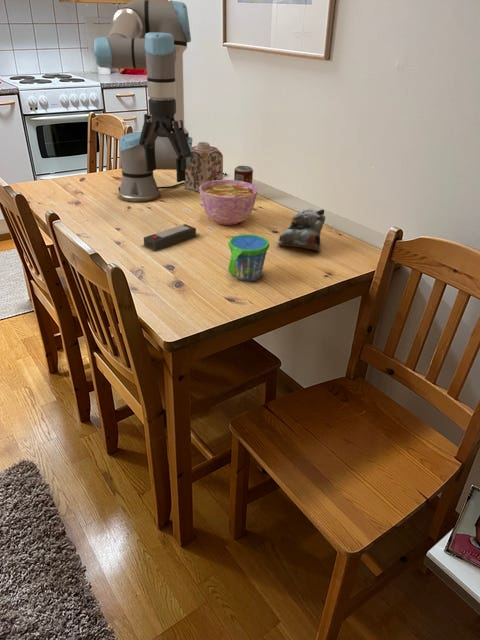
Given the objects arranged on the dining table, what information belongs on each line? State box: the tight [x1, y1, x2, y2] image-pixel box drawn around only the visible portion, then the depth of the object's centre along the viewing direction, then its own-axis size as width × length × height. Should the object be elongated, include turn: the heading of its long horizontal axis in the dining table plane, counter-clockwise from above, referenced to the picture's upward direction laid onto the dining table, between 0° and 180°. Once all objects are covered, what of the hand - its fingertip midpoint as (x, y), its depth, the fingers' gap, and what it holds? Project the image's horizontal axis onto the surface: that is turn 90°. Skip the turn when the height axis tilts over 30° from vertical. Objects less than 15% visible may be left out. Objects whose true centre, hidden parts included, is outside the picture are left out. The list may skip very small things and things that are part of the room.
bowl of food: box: [199, 179, 259, 226], centre depth 167 cm, size 20×20×12 cm
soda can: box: [233, 165, 254, 184], centre depth 188 cm, size 7×7×12 cm
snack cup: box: [227, 234, 270, 282], centre depth 131 cm, size 16×10×10 cm
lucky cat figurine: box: [275, 208, 326, 252], centre depth 150 cm, size 15×12×14 cm
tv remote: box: [143, 223, 197, 252], centre depth 152 cm, size 17×5×3 cm, turn 138°
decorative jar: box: [183, 141, 224, 193], centre depth 196 cm, size 12×12×18 cm
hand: (165, 175), depth 144 cm, fingers open, 13 cm apart
